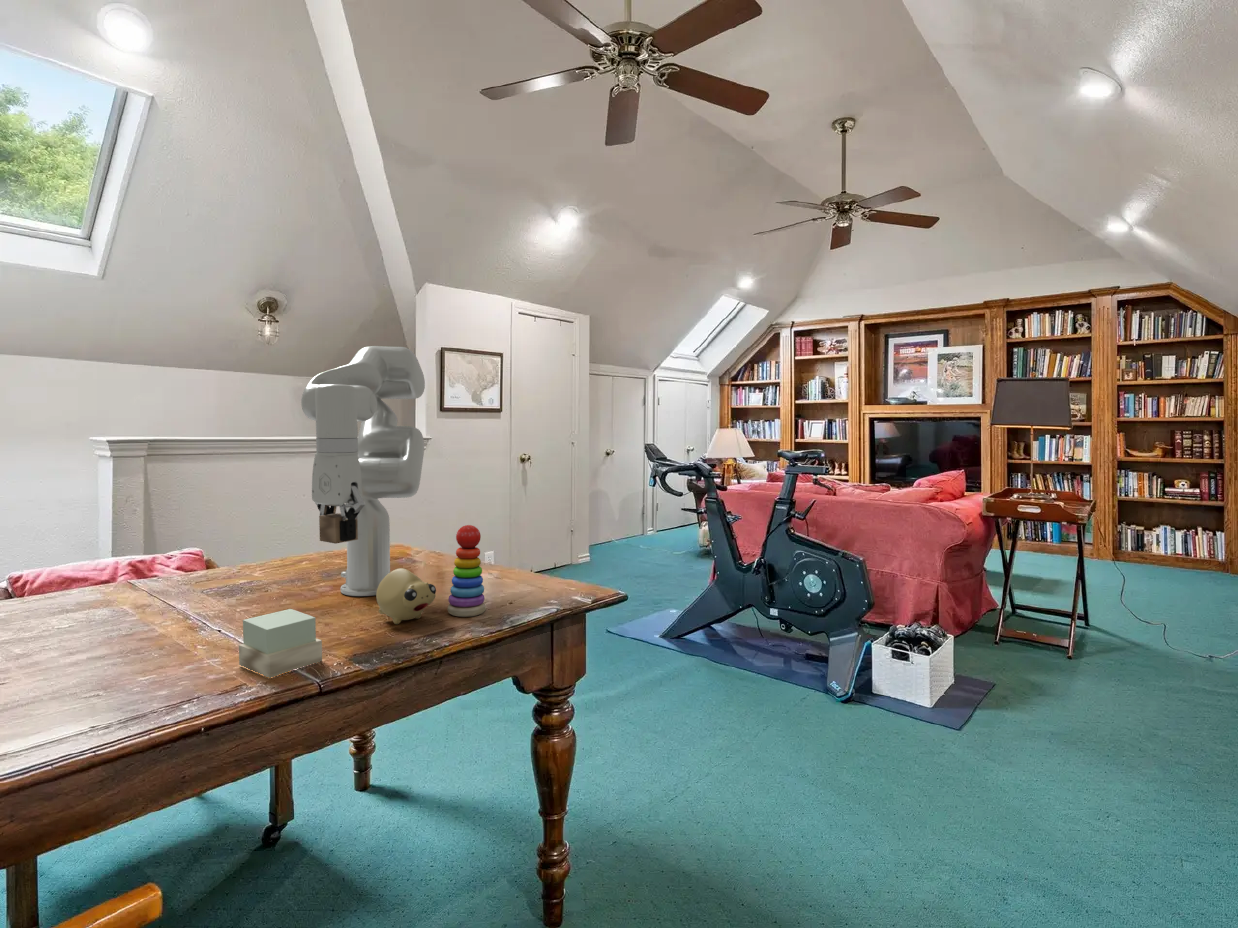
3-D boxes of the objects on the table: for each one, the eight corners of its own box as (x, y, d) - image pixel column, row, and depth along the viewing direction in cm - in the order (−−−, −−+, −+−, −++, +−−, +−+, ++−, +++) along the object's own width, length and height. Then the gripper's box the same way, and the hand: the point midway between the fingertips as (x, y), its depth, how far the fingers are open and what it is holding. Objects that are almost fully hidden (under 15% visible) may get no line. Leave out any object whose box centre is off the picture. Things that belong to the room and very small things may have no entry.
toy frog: (404, 633, 125) (404, 578, 124) (367, 621, 132) (366, 569, 131) (445, 620, 133) (444, 569, 132) (407, 609, 140) (407, 561, 139)
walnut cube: (319, 540, 129) (319, 515, 128) (342, 536, 133) (341, 512, 133) (335, 543, 126) (335, 518, 126) (357, 539, 130) (357, 514, 130)
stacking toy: (476, 619, 134) (476, 529, 133) (440, 616, 136) (440, 527, 134) (491, 608, 142) (491, 523, 140) (457, 605, 143) (457, 521, 142)
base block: (239, 668, 107) (238, 645, 107) (291, 652, 115) (291, 630, 115) (269, 681, 103) (269, 656, 102) (322, 663, 110) (321, 640, 110)
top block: (243, 643, 108) (242, 619, 108) (291, 630, 114) (290, 608, 114) (267, 654, 103) (266, 629, 103) (315, 640, 110) (315, 617, 109)
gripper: (293, 446, 129) (295, 536, 131) (348, 449, 121) (349, 546, 122) (327, 445, 136) (329, 531, 137) (381, 448, 127) (382, 540, 128)
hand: (338, 537), depth 129 cm, fingers closed on walnut cube, 5 cm apart
